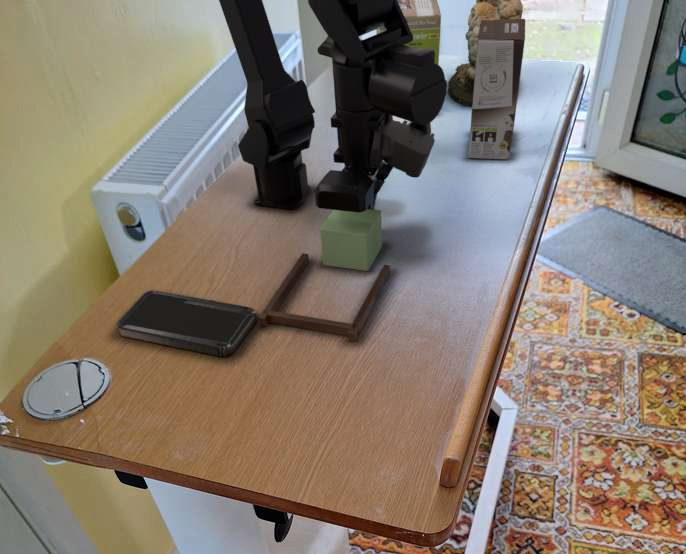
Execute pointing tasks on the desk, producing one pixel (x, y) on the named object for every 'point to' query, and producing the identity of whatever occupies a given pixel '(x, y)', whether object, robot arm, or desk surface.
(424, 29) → the tea box
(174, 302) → the phone
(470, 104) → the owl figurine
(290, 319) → the bay
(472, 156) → the coffee box
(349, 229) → the block
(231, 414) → the desk surface
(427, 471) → the desk surface
